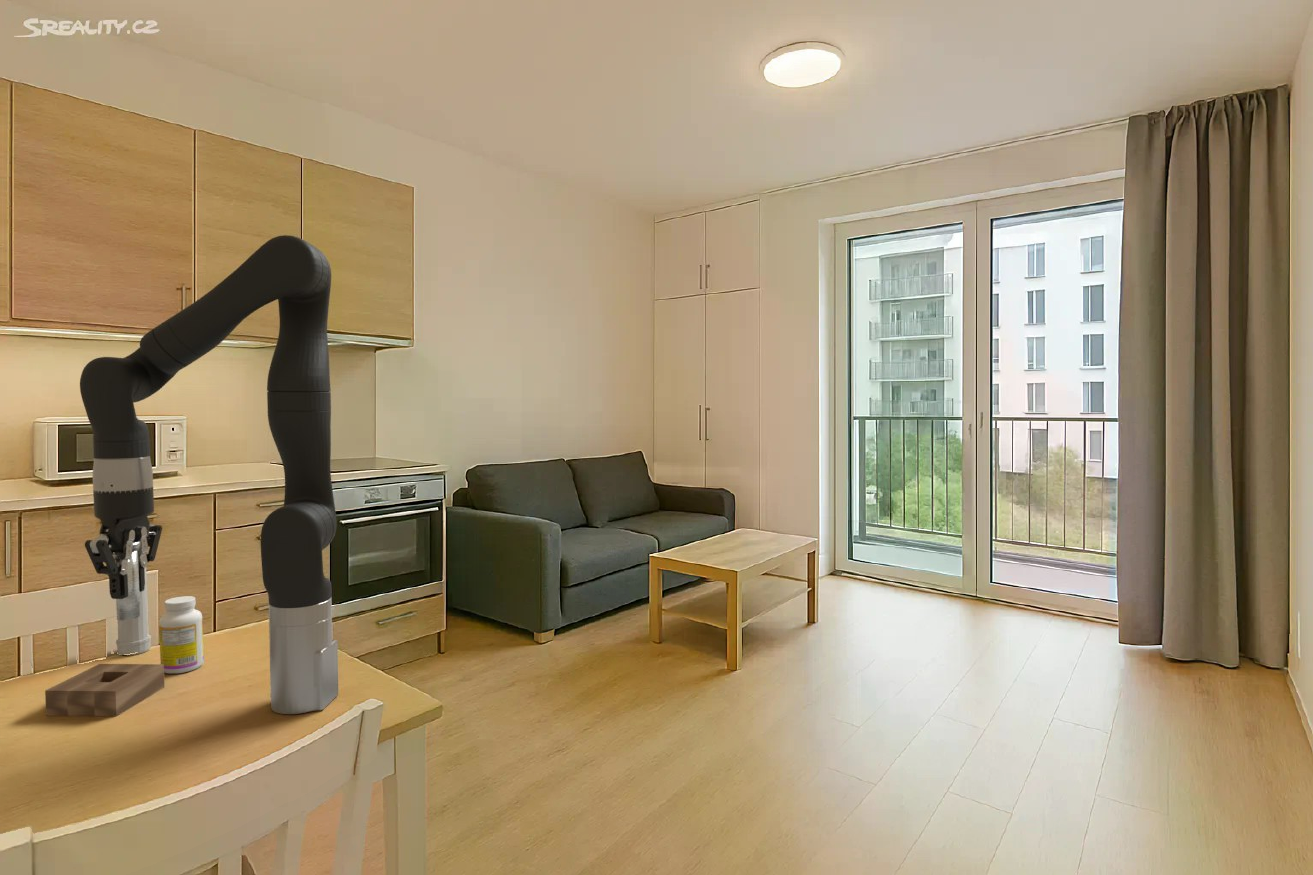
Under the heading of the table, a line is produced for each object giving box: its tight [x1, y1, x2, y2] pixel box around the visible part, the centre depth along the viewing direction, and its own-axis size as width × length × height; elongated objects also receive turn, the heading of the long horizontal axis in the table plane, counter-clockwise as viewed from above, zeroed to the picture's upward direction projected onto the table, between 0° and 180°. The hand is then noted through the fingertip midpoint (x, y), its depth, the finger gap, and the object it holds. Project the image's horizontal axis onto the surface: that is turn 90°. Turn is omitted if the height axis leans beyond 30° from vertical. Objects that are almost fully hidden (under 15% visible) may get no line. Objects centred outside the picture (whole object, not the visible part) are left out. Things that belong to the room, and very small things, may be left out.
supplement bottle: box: [158, 595, 205, 675], centre depth 131 cm, size 7×7×13 cm
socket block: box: [44, 663, 165, 717], centre depth 117 cm, size 11×11×4 cm
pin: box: [113, 541, 141, 621], centre depth 112 cm, size 4×4×12 cm
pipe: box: [115, 567, 152, 657], centre depth 138 cm, size 6×6×30 cm
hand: (128, 594), depth 112 cm, fingers closed on pin, 3 cm apart
